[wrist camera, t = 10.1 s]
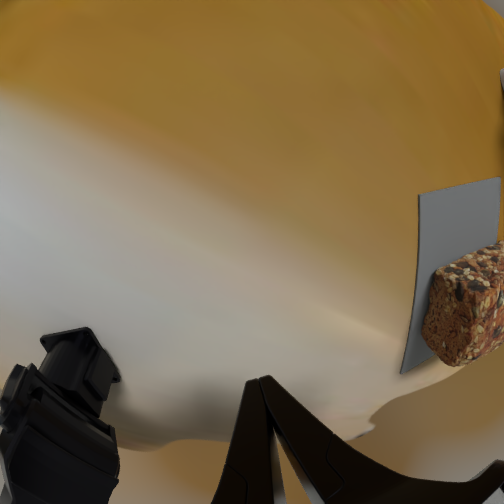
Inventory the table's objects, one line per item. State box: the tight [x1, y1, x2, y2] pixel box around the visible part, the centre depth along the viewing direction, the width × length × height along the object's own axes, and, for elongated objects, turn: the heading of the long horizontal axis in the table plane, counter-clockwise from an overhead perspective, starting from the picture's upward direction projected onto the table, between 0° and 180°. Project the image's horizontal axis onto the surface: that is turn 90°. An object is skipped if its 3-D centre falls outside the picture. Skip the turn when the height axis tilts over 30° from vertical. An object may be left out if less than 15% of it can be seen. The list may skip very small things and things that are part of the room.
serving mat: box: [400, 177, 501, 374], centre depth 26 cm, size 18×24×1 cm
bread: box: [421, 240, 504, 367], centre depth 22 cm, size 19×11×10 cm, turn 98°
